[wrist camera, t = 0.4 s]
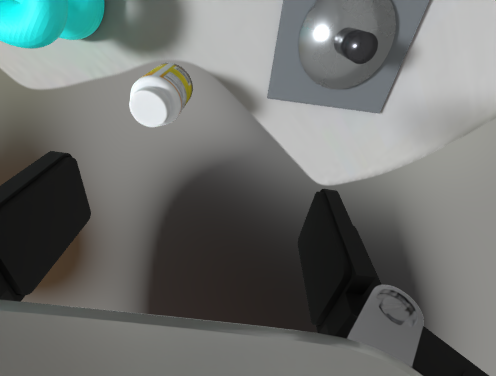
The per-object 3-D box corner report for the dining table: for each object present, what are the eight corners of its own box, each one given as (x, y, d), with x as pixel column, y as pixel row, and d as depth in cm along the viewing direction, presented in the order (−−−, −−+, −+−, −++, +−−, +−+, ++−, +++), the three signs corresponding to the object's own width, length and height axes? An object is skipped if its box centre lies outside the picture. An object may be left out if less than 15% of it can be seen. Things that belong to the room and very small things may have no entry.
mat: (293, -61, 26) (294, -62, 26) (442, -36, 27) (445, -37, 26) (267, 97, 35) (267, 98, 35) (377, 112, 36) (379, 113, 36)
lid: (311, -26, 27) (325, -34, 22) (410, -10, 28) (448, -14, 22) (289, 81, 34) (295, 97, 28) (369, 93, 34) (391, 110, 29)
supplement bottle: (152, 98, 36) (121, 127, 28) (153, 56, 33) (119, 74, 25) (191, 109, 37) (172, 139, 29) (196, 68, 34) (177, 90, 25)
